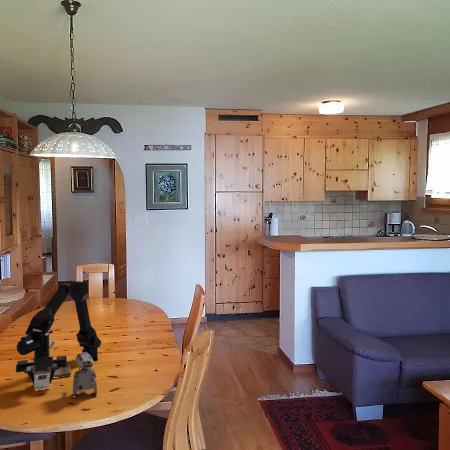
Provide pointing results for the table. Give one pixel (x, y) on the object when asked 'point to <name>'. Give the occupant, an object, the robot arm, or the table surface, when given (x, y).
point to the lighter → (51, 345)
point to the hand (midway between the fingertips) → (42, 384)
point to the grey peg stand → (57, 371)
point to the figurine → (84, 374)
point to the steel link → (42, 381)
